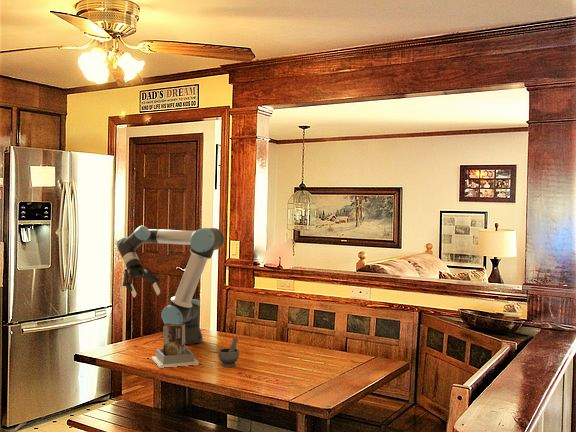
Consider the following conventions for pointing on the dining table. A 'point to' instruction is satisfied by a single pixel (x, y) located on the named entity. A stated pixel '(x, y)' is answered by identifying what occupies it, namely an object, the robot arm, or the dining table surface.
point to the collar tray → (174, 359)
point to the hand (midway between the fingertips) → (147, 294)
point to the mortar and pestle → (229, 354)
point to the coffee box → (173, 339)
